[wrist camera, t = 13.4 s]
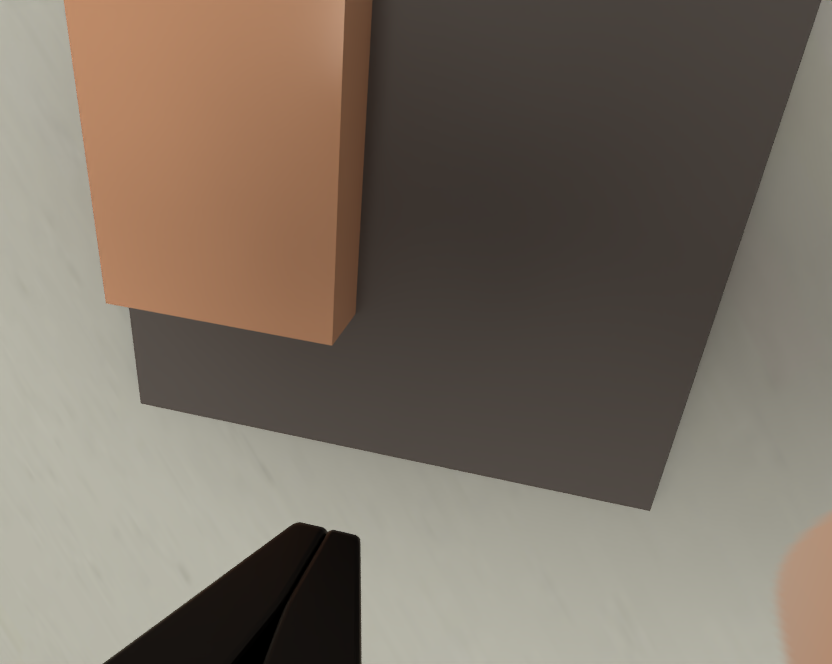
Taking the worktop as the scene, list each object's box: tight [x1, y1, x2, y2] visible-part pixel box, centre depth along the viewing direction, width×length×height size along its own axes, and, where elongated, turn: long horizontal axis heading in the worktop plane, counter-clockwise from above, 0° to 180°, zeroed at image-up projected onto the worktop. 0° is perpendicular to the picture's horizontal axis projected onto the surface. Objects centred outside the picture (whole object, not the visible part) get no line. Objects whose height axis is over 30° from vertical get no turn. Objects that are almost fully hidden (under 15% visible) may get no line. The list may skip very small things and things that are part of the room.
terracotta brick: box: [64, 0, 373, 346], centre depth 17 cm, size 2×9×7 cm
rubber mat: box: [129, 0, 821, 511], centre depth 19 cm, size 18×15×1 cm
